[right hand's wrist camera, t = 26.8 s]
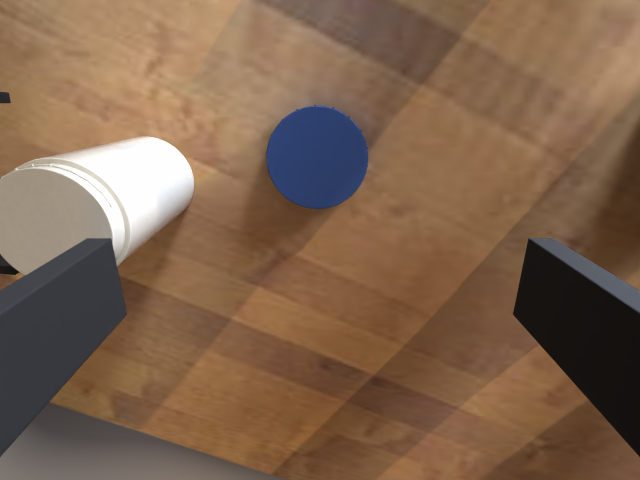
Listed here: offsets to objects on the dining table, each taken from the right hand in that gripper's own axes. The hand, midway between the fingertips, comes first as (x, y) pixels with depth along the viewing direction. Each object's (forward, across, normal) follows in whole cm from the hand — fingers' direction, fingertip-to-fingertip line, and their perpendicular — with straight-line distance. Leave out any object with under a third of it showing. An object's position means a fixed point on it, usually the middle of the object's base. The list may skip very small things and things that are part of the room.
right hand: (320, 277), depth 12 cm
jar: (+26, +16, +2) cm, 31 cm away
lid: (+24, 0, 0) cm, 24 cm away
